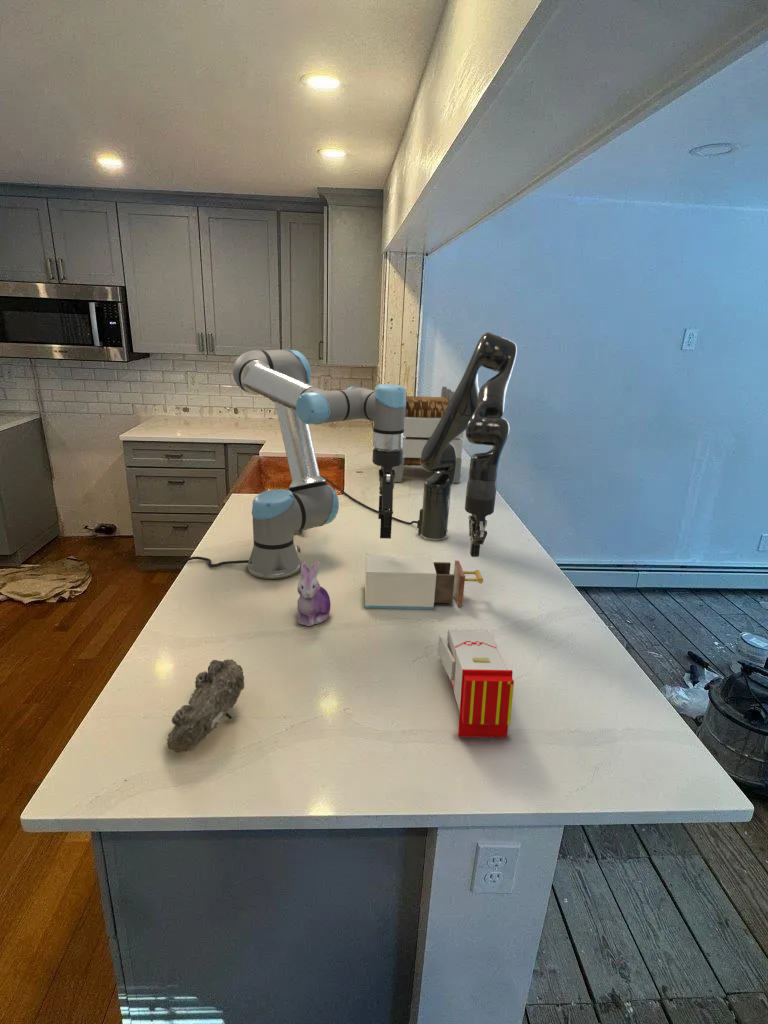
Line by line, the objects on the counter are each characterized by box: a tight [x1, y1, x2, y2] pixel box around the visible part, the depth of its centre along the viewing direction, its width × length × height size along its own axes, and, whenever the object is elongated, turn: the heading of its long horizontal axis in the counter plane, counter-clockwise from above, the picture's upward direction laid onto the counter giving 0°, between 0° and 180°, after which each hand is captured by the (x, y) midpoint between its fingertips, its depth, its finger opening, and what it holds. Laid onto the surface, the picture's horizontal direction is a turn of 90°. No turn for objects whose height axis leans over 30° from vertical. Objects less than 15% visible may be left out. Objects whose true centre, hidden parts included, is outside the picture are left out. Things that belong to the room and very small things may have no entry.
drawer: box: [433, 560, 484, 607], centre depth 154 cm, size 23×10×9 cm, turn 92°
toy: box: [437, 628, 515, 738], centre depth 117 cm, size 12×13×30 cm
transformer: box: [392, 386, 465, 484], centre depth 268 cm, size 34×33×41 cm
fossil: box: [166, 658, 245, 754], centre depth 106 cm, size 22×10×15 cm
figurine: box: [297, 561, 331, 627], centre depth 141 cm, size 9×10×15 cm
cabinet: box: [364, 553, 436, 610], centre depth 154 cm, size 18×11×11 cm, turn 92°
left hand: (384, 528), depth 148 cm, fingers open, 13 cm apart
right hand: (474, 555), depth 152 cm, fingers closed
